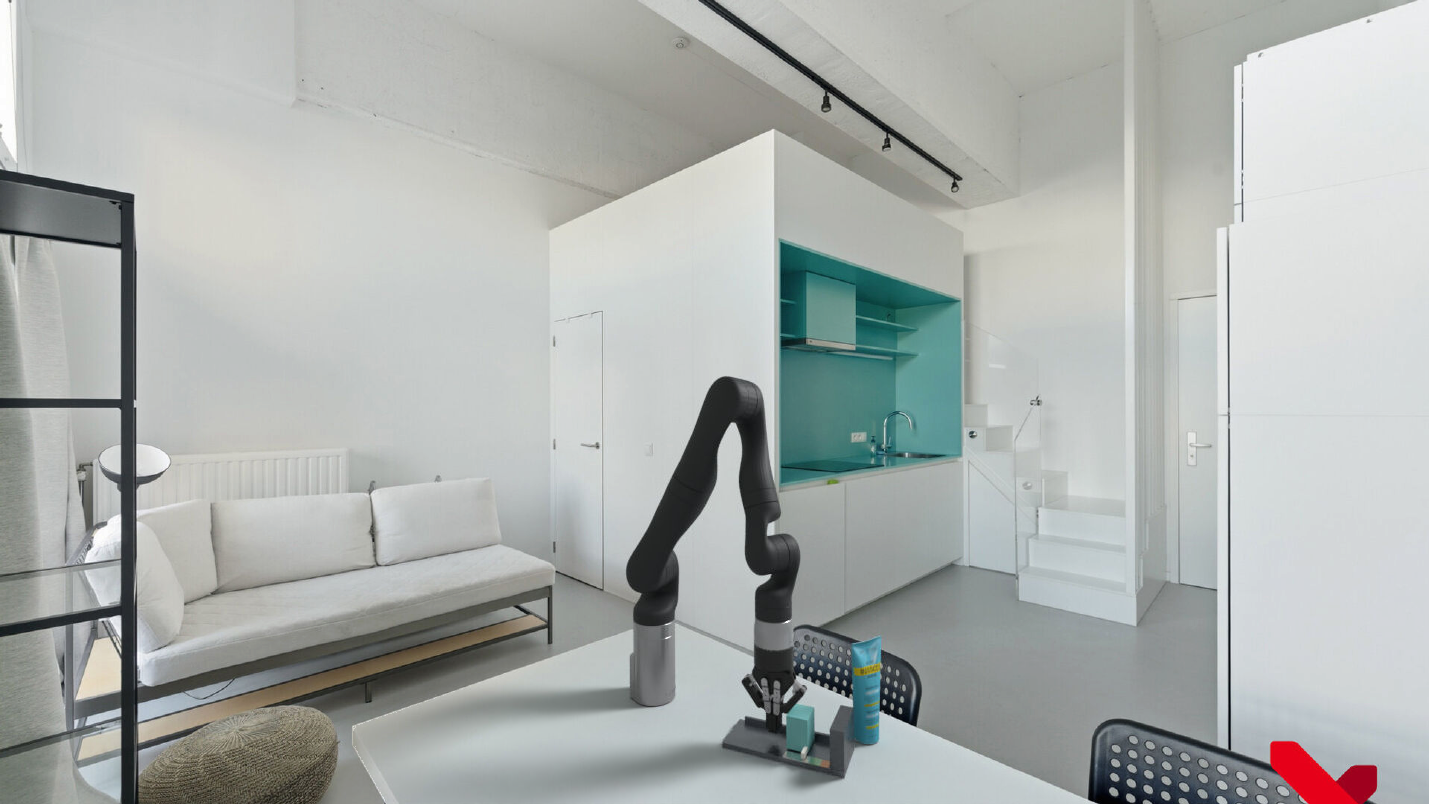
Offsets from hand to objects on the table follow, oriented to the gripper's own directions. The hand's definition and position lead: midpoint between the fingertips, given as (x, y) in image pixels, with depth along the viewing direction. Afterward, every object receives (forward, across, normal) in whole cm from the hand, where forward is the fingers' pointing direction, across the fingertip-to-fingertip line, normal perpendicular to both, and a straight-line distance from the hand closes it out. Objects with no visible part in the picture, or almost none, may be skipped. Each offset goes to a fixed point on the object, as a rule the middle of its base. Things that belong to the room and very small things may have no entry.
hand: (774, 731), depth 114 cm
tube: (+3, +16, +9) cm, 18 cm away
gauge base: (+3, +3, 0) cm, 4 cm away
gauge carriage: (+1, +5, -1) cm, 5 cm away
